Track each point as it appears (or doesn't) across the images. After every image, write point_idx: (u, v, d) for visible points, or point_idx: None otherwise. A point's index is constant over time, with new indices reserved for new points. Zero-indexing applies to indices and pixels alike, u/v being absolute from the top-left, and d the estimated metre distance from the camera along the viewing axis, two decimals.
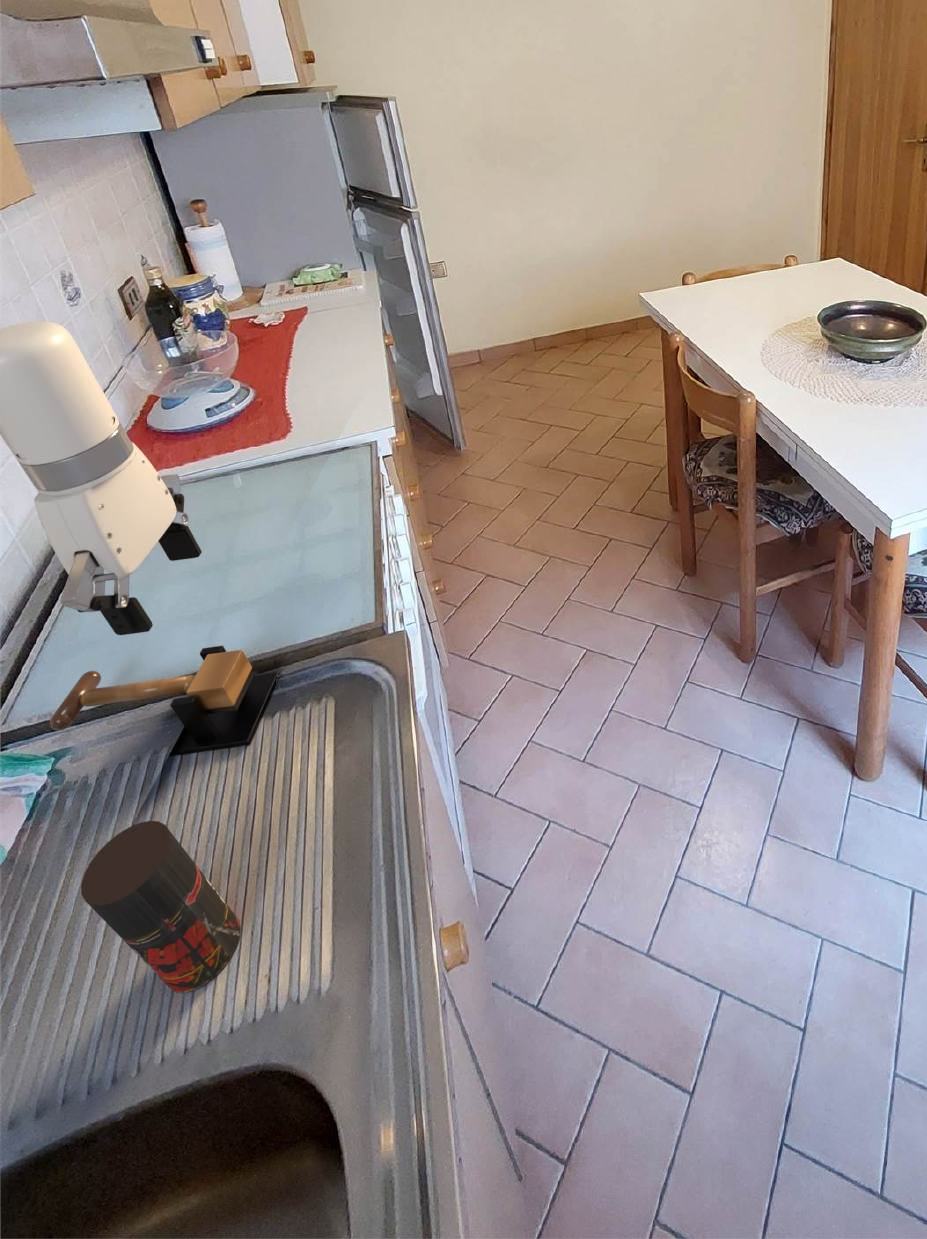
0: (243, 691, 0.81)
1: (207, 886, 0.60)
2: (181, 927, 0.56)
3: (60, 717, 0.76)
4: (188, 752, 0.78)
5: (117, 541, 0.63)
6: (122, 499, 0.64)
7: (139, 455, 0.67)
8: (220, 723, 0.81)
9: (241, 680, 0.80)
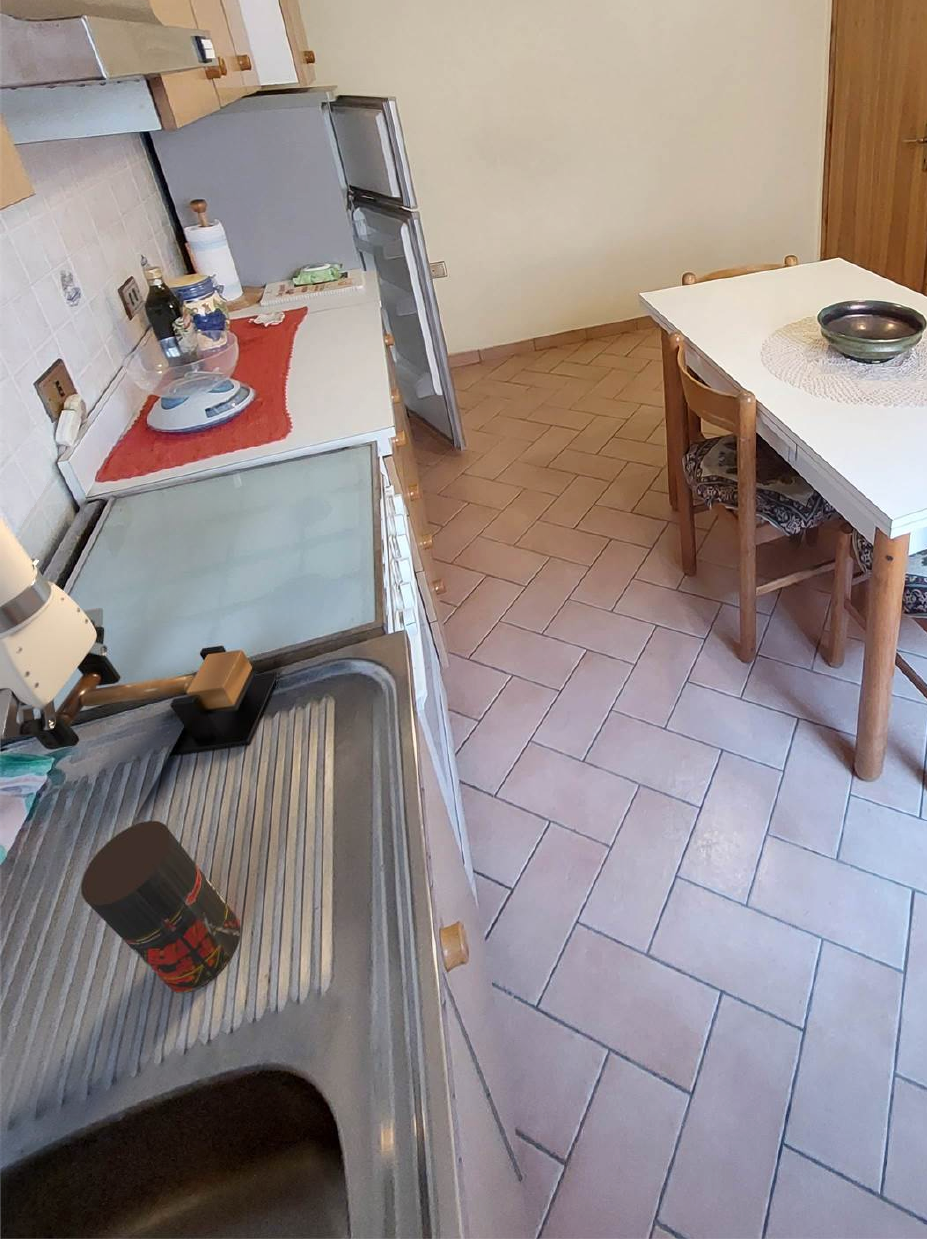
0: (243, 691, 0.81)
1: (207, 886, 0.60)
2: (181, 927, 0.56)
3: (60, 717, 0.76)
4: (188, 752, 0.78)
5: (35, 677, 0.72)
6: (40, 639, 0.73)
7: (59, 594, 0.76)
8: (220, 723, 0.81)
9: (241, 680, 0.80)
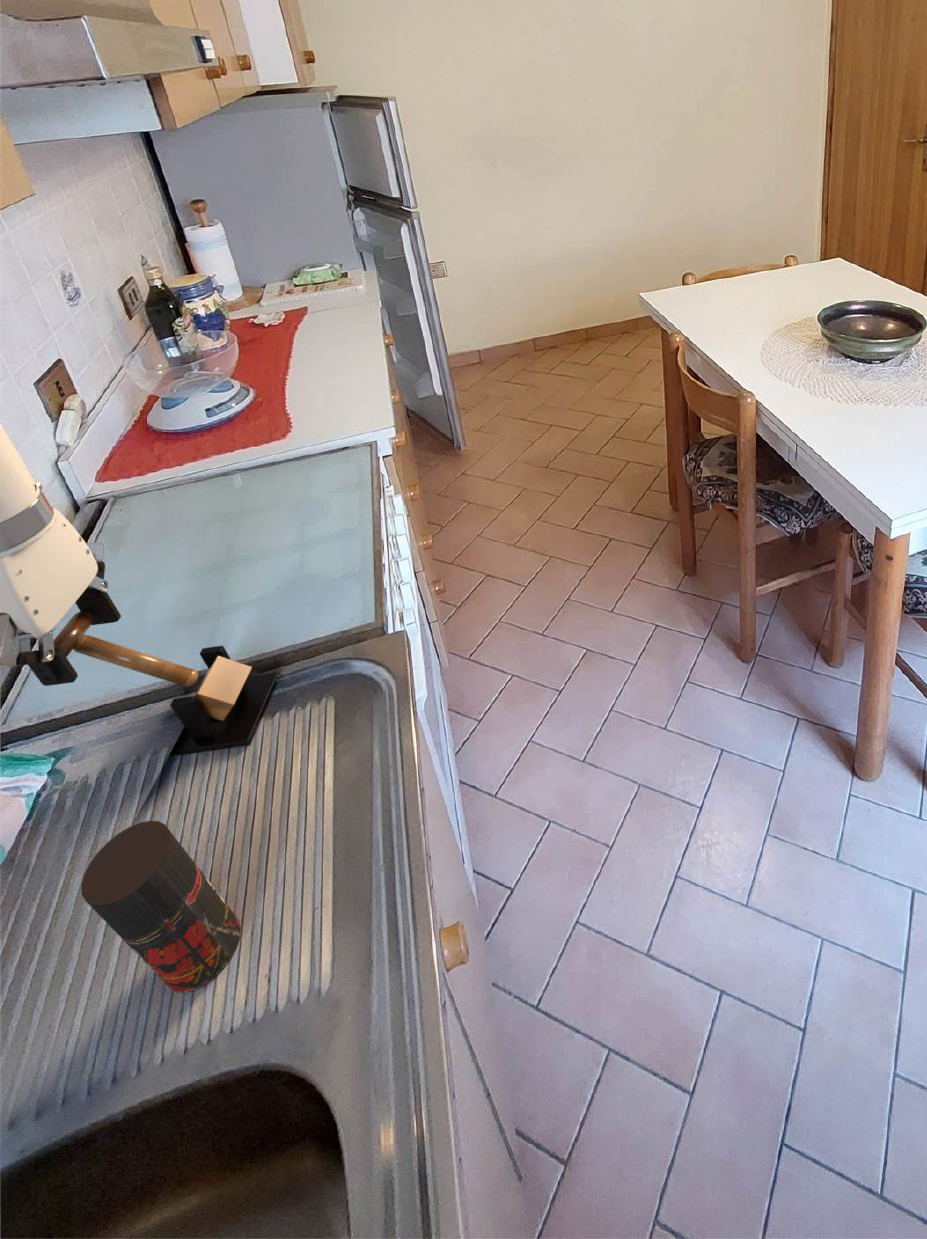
0: None
1: (207, 886, 0.60)
2: (181, 927, 0.56)
3: None
4: (188, 752, 0.78)
5: (34, 603, 0.68)
6: (40, 563, 0.68)
7: (60, 519, 0.72)
8: (220, 723, 0.81)
9: None
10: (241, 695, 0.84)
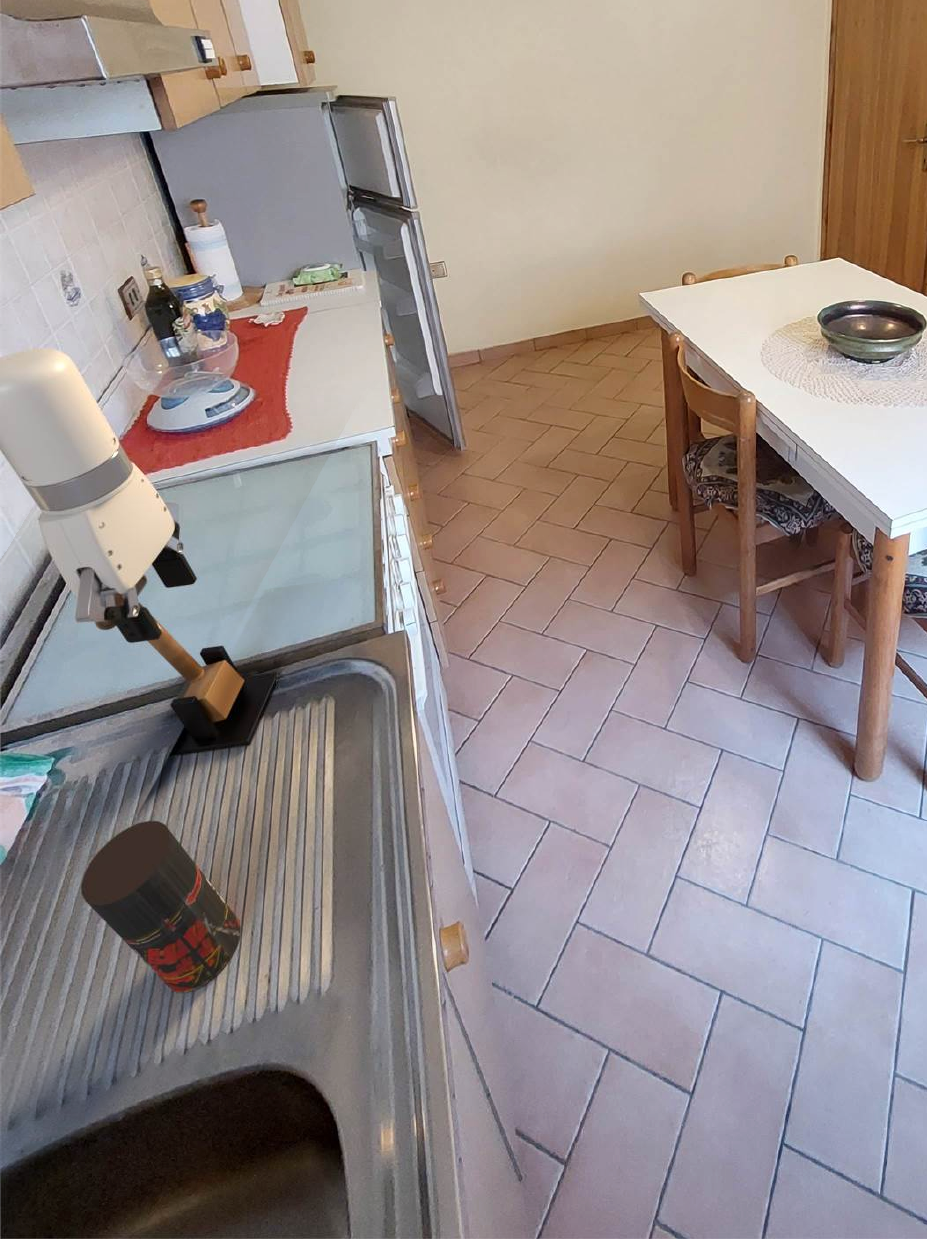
0: None
1: (207, 886, 0.60)
2: (181, 927, 0.56)
3: None
4: (188, 752, 0.78)
5: (118, 558, 0.66)
6: (122, 518, 0.67)
7: (138, 474, 0.70)
8: (220, 723, 0.81)
9: None
10: (241, 695, 0.84)
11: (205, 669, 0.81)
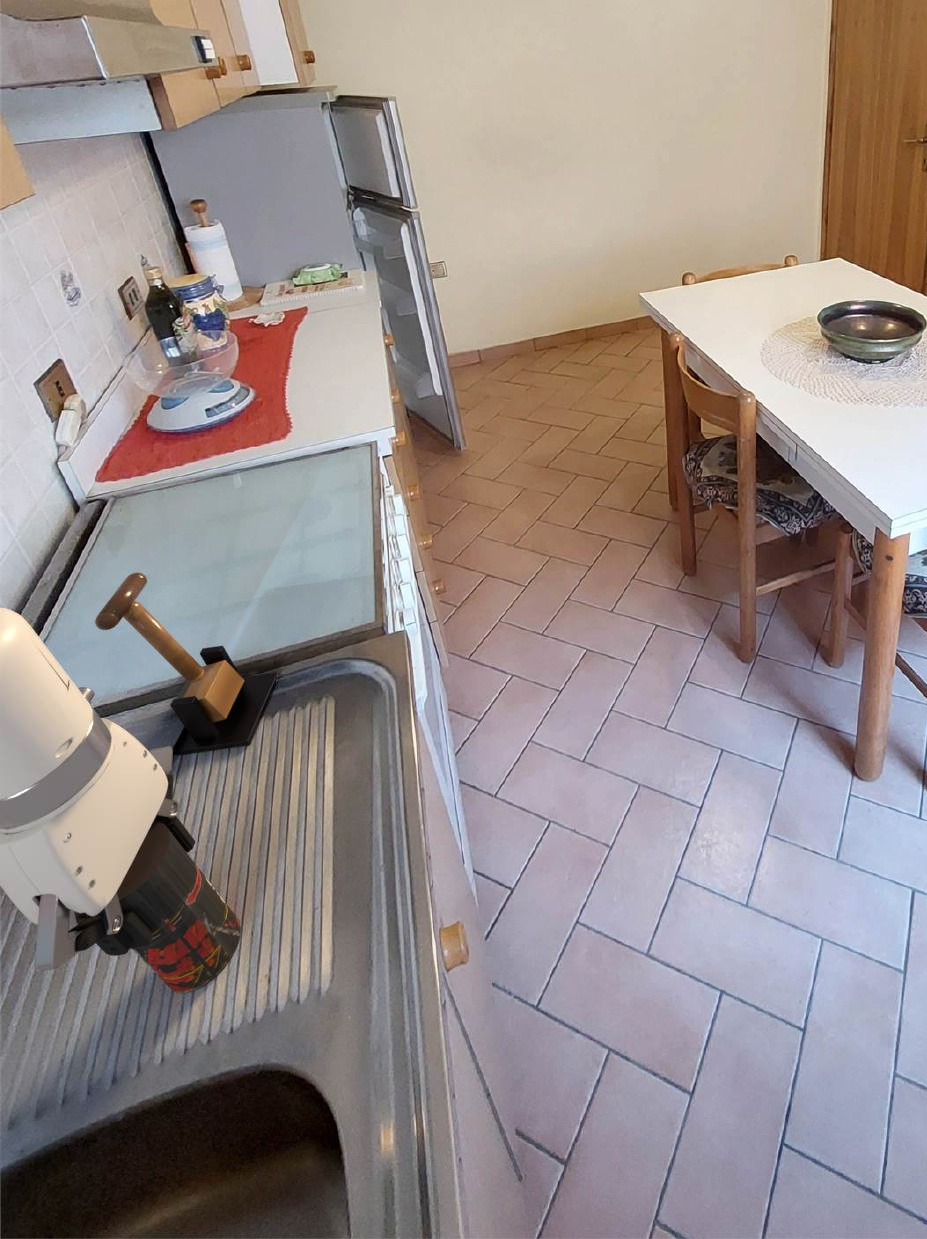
0: None
1: (207, 886, 0.60)
2: (181, 927, 0.56)
3: (116, 623, 0.71)
4: (188, 752, 0.78)
5: (90, 872, 0.49)
6: (96, 813, 0.49)
7: (120, 737, 0.53)
8: (220, 723, 0.81)
9: None
10: (241, 695, 0.84)
11: (205, 669, 0.81)
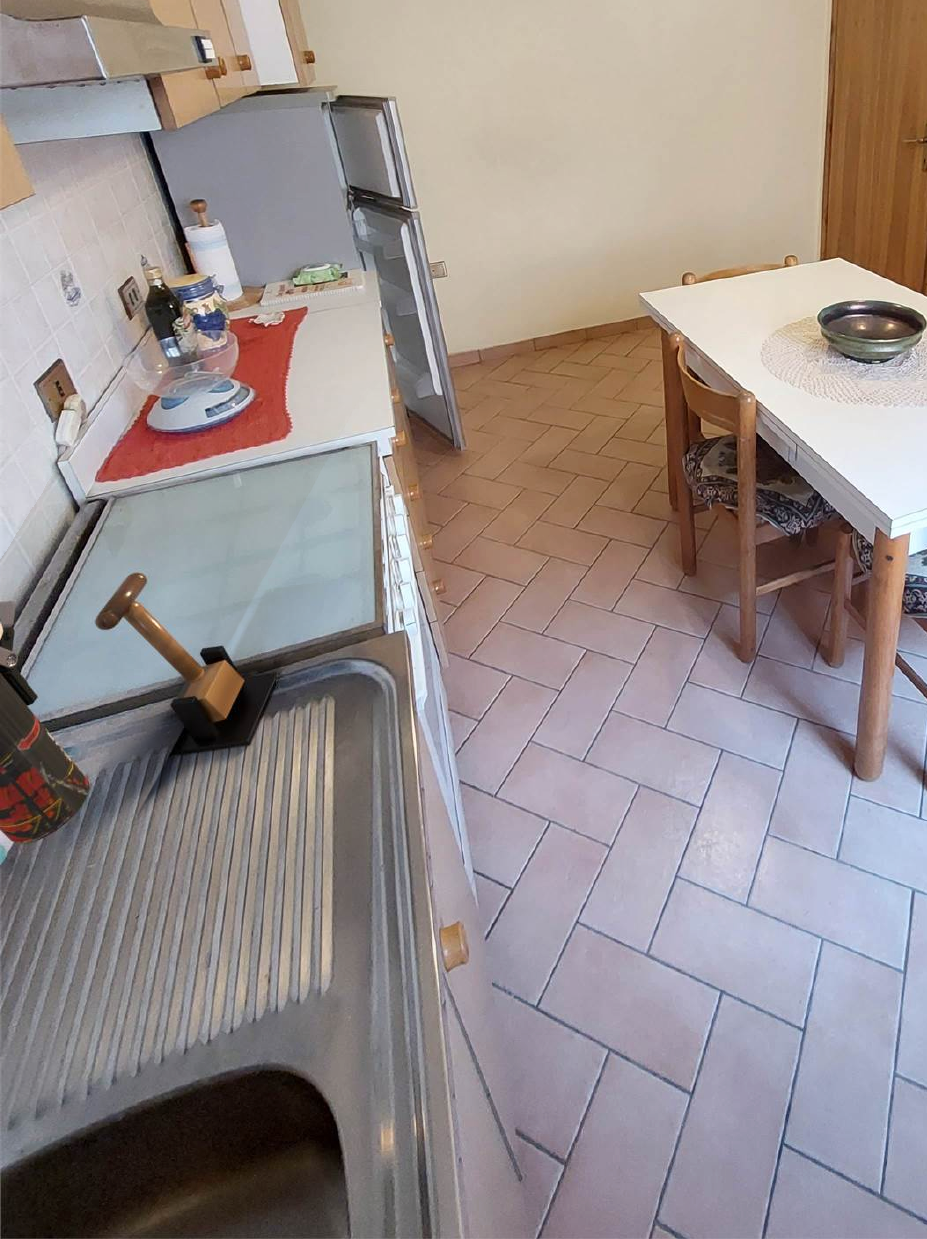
0: None
1: (47, 738, 0.60)
2: (13, 771, 0.57)
3: (116, 623, 0.71)
4: (188, 752, 0.78)
5: None
6: None
7: None
8: (220, 723, 0.81)
9: None
10: (241, 695, 0.84)
11: (205, 669, 0.81)
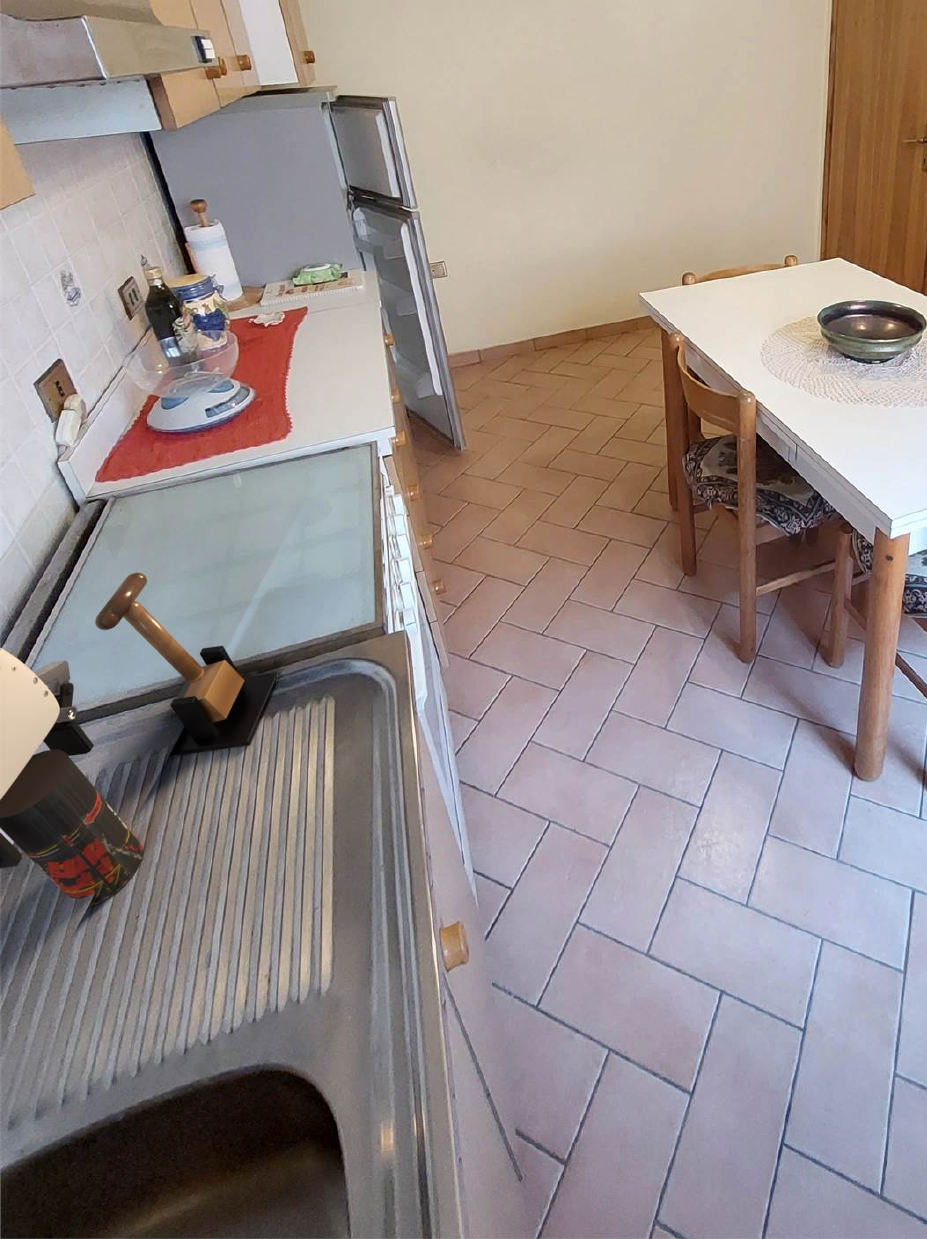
0: None
1: (107, 811, 0.66)
2: (79, 843, 0.63)
3: (116, 623, 0.71)
4: (188, 752, 0.78)
5: None
6: None
7: (9, 662, 0.59)
8: (220, 723, 0.81)
9: None
10: (241, 695, 0.84)
11: (205, 669, 0.81)
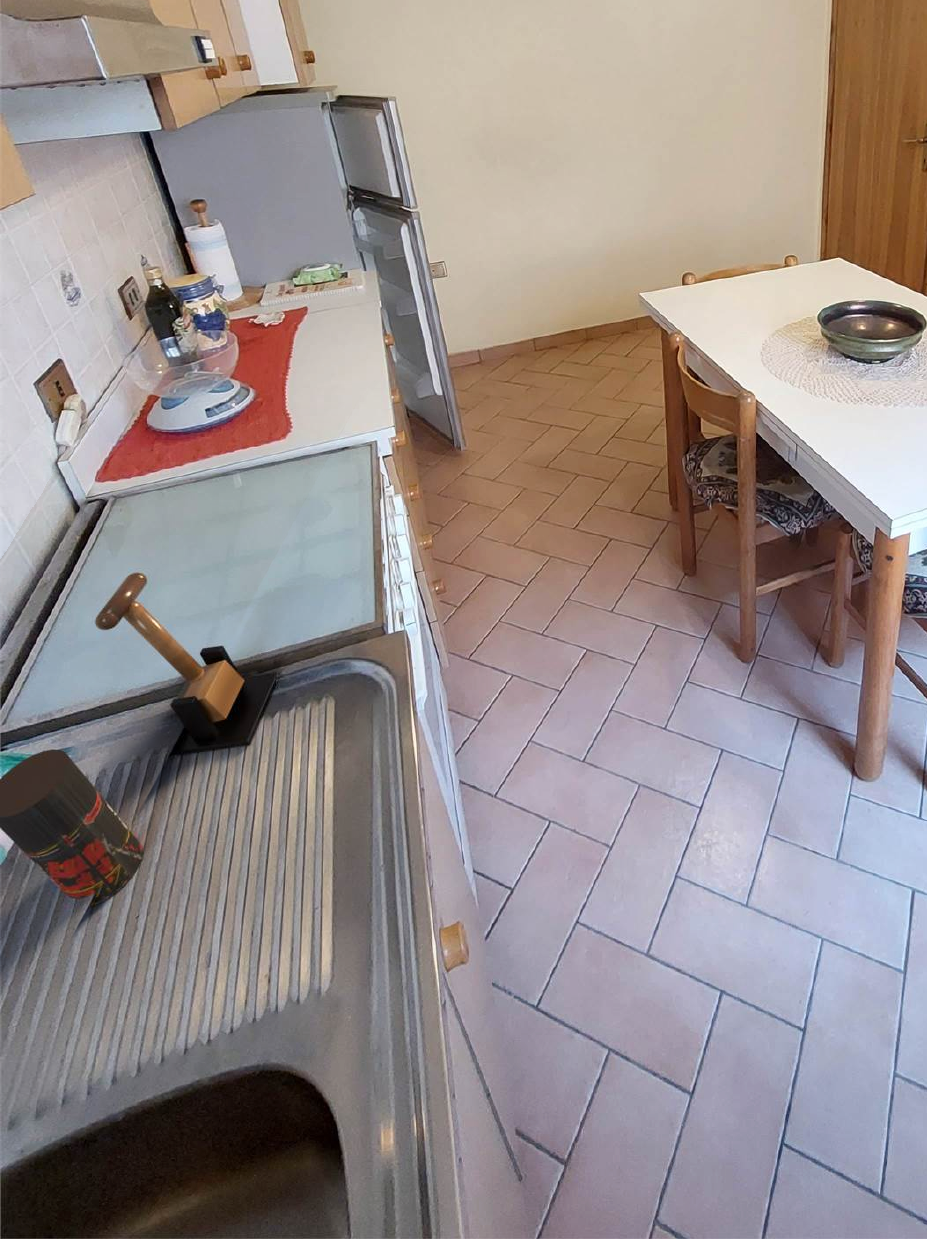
0: None
1: (107, 811, 0.66)
2: (79, 843, 0.63)
3: (116, 623, 0.71)
4: (188, 752, 0.78)
5: None
6: None
7: None
8: (220, 723, 0.81)
9: None
10: (241, 695, 0.84)
11: (205, 669, 0.81)
